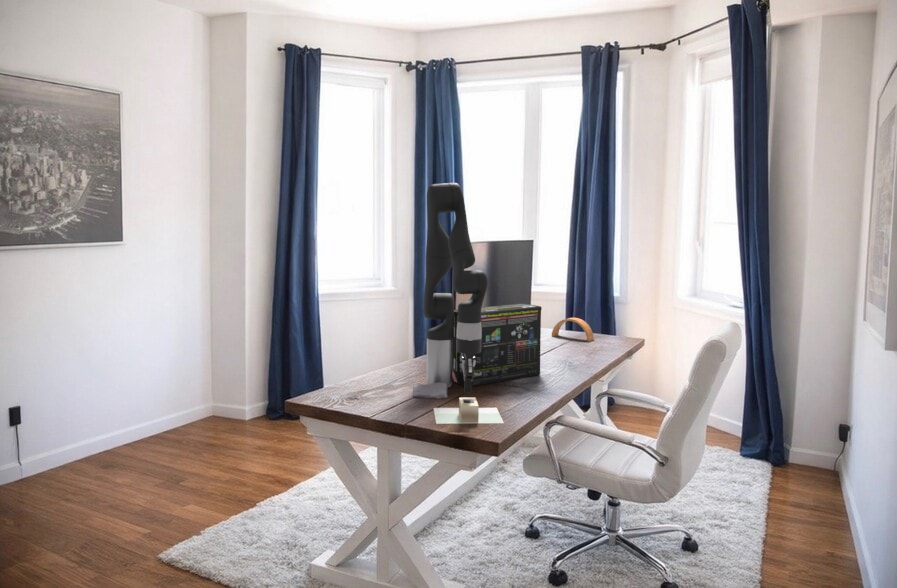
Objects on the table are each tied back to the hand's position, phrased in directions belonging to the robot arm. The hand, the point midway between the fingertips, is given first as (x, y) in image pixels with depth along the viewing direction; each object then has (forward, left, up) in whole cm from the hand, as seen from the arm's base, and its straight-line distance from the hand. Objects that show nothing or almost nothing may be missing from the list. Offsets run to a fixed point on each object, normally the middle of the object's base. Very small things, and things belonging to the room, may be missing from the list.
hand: (467, 392), depth 217 cm
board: (0, 0, -8) cm, 8 cm away
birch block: (-2, 0, -4) cm, 5 cm away
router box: (-48, +16, -8) cm, 51 cm away
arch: (-128, +64, -8) cm, 143 cm away
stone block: (-23, -10, -8) cm, 27 cm away
